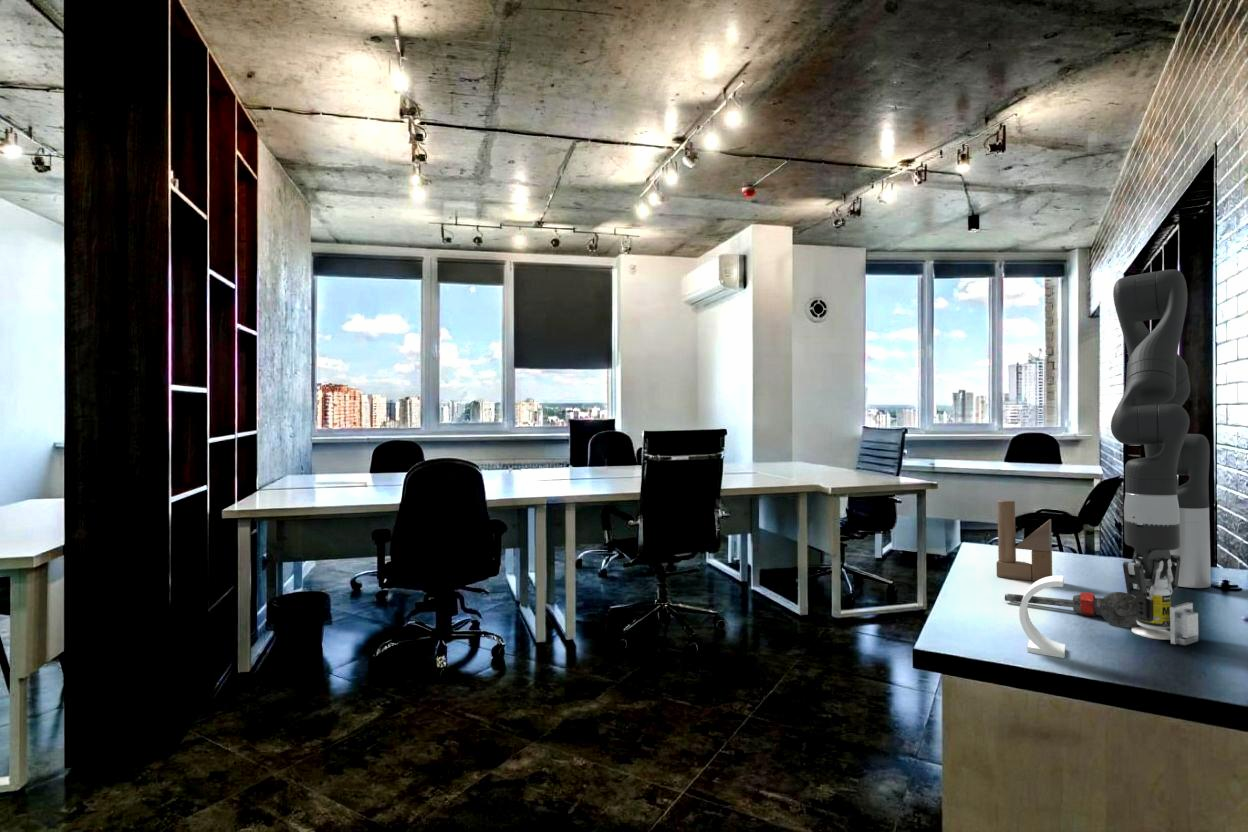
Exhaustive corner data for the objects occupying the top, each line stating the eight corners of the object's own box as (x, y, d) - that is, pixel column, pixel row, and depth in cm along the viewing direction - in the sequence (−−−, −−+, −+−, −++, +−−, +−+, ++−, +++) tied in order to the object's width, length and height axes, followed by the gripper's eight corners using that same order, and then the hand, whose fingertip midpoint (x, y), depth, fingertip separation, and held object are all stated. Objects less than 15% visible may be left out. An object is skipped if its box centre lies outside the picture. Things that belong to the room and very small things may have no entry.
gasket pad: (1142, 626, 118) (1142, 624, 118) (1183, 636, 113) (1183, 634, 113) (1124, 631, 116) (1124, 630, 116) (1164, 641, 110) (1164, 640, 110)
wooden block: (1050, 583, 149) (1048, 503, 149) (996, 577, 156) (994, 500, 156) (1052, 580, 152) (1051, 502, 152) (999, 574, 159) (998, 499, 159)
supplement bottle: (1168, 632, 111) (1167, 582, 111) (1133, 626, 115) (1132, 577, 115) (1174, 625, 114) (1172, 577, 114) (1140, 619, 118) (1138, 572, 118)
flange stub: (1189, 637, 112) (1188, 602, 112) (1202, 640, 111) (1201, 604, 111) (1170, 643, 110) (1169, 607, 110) (1183, 646, 108) (1182, 609, 108)
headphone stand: (1064, 658, 104) (1062, 581, 104) (1019, 650, 107) (1018, 576, 107) (1065, 649, 108) (1064, 575, 108) (1022, 642, 111) (1020, 571, 111)
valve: (1174, 626, 125) (1169, 634, 114) (1017, 608, 142) (1000, 614, 131) (1171, 591, 126) (1167, 596, 115) (1015, 578, 143) (999, 581, 132)
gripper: (1148, 513, 121) (1150, 606, 121) (1104, 520, 115) (1106, 618, 115) (1198, 518, 114) (1200, 617, 114) (1154, 526, 108) (1156, 630, 108)
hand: (1153, 617), depth 114 cm, fingers open, 5 cm apart
